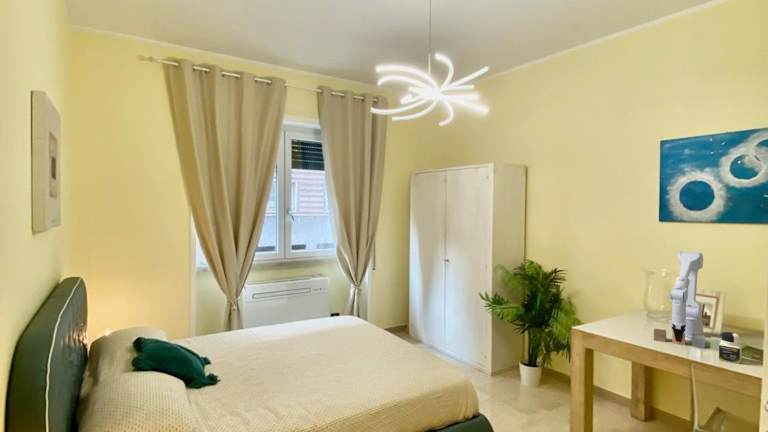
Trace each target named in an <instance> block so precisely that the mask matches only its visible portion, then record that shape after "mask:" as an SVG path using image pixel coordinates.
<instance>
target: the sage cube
mask: <svg viewBox="0 0 768 432" xmlns="http://www.w3.org/2000/svg"><path fill="white" fill-rule="evenodd" d="M709 341H710V342H709V343H710V351H714V352H715V351H717V352H719V344H720V342H721V341H722V337H714V336H710V340H709Z"/></svg>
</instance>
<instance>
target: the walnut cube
mask: <svg viewBox="0 0 768 432" xmlns="http://www.w3.org/2000/svg"><path fill="white" fill-rule="evenodd" d="M653 341H654V342H655V341H656V342H661V343H662V342H664V343H666V342H667V330H666V329H662V328H653Z"/></svg>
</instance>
